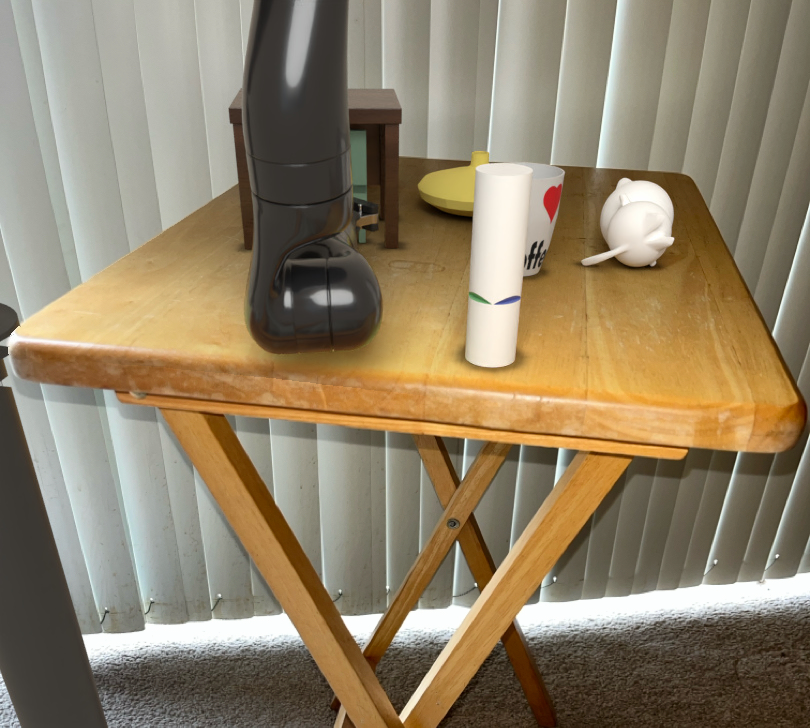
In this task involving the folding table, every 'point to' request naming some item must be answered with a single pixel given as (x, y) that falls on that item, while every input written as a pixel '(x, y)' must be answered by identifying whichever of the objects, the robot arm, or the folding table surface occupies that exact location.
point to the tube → (497, 262)
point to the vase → (453, 186)
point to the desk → (382, 154)
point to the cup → (541, 213)
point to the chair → (359, 169)
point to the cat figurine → (636, 224)
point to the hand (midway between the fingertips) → (318, 196)
